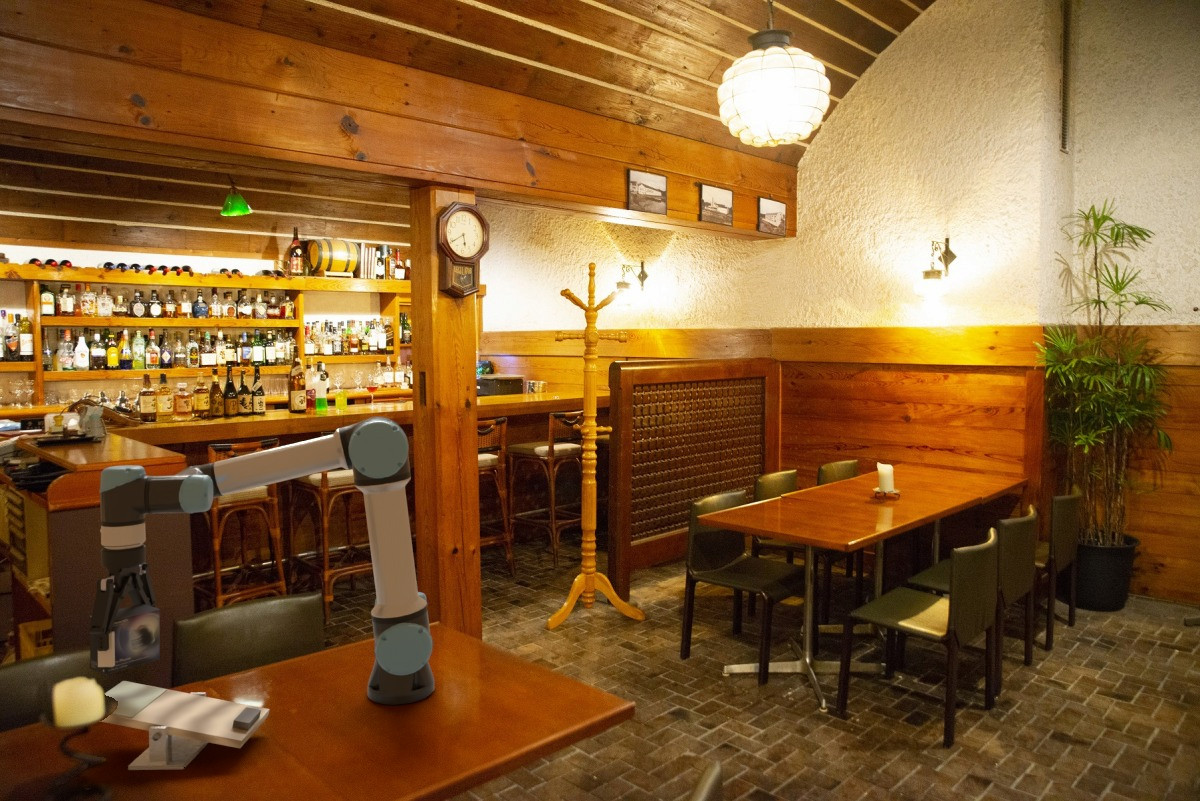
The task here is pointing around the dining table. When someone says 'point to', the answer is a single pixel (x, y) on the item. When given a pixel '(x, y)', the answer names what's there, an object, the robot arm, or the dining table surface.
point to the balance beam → (185, 714)
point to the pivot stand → (167, 750)
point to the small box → (131, 639)
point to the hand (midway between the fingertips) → (125, 654)
